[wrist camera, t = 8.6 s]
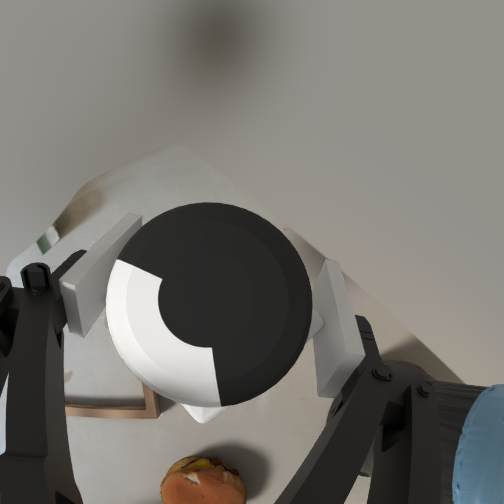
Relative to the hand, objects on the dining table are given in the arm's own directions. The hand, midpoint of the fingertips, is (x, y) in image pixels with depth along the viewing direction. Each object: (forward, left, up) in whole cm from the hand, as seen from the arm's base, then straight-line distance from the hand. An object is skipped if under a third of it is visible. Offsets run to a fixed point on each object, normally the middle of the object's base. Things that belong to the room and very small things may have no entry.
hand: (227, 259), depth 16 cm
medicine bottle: (+1, +3, -5) cm, 6 cm away
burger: (+5, +22, -18) cm, 29 cm away
